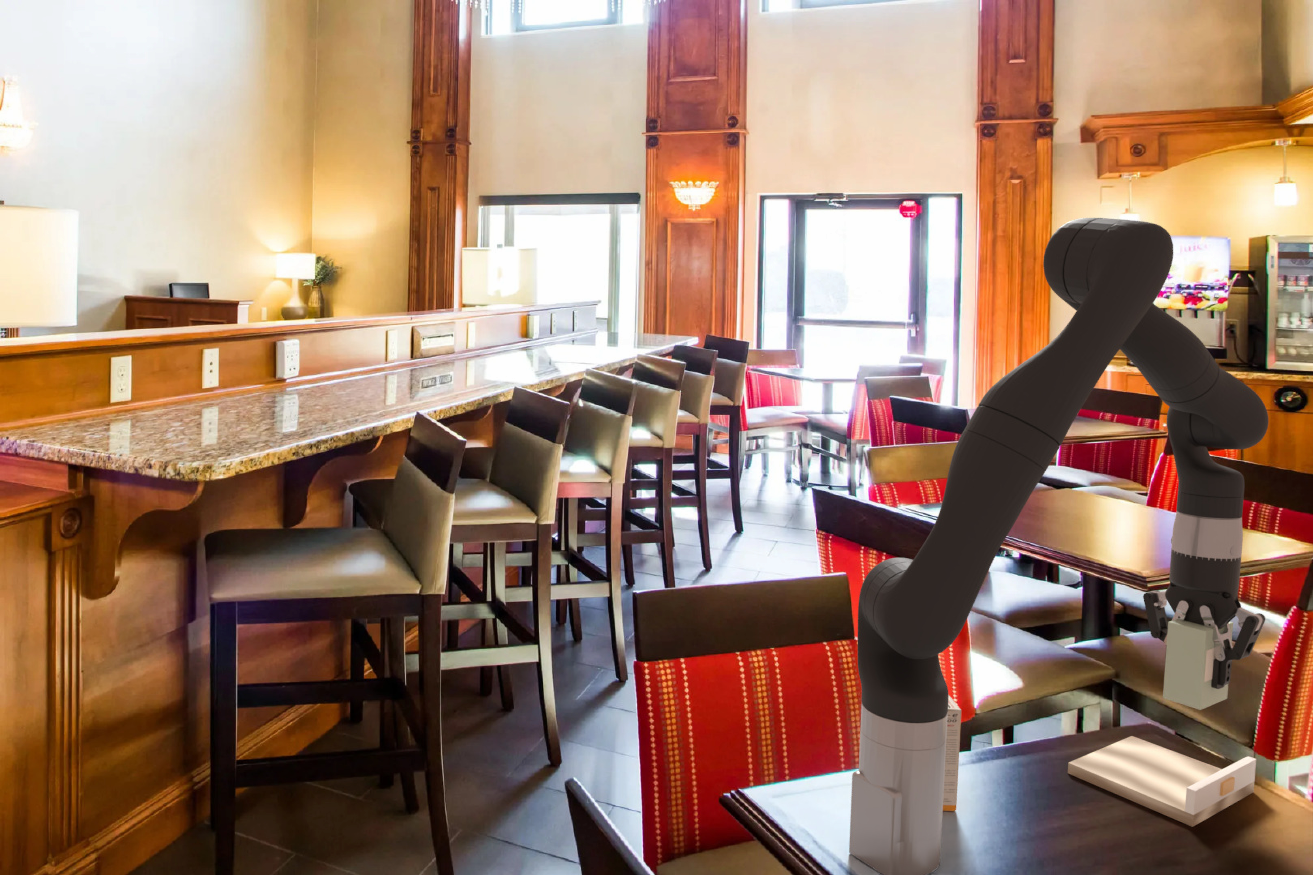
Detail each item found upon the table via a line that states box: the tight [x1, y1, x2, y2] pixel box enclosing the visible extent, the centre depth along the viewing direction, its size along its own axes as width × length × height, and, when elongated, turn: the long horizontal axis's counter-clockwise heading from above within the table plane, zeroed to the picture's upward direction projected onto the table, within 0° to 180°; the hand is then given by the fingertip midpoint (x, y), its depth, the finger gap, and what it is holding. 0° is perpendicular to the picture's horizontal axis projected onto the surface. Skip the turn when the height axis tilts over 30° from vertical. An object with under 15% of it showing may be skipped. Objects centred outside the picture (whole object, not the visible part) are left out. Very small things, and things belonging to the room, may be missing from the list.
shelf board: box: [1067, 735, 1257, 828], centre depth 117 cm, size 16×16×4 cm
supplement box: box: [943, 693, 962, 812], centre depth 113 cm, size 8×5×13 cm, turn 179°
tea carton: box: [1162, 620, 1234, 711], centre depth 113 cm, size 5×7×10 cm, turn 124°
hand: (1196, 680), depth 113 cm, fingers closed on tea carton, 4 cm apart
